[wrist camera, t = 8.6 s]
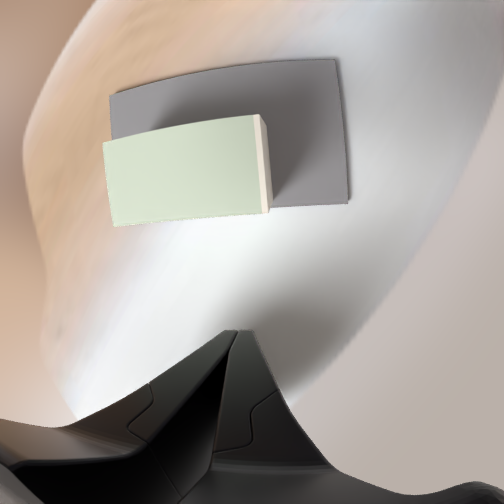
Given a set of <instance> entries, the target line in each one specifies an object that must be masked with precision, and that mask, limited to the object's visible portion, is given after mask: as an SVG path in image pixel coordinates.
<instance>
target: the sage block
mask: <svg viewBox="0 0 504 504" xmlns="http://www.w3.org/2000/svg"><path fill="white" fill-rule="evenodd" d="M103 154H104V164H105V173H106V181H107V189H108V196H109V203H110V209H111V215H112V221H113V227H118V226H127V225H136V224H145V223H155V222H165V221H176V220H187V219H198V218H210V217H223V216H236V215H250V214H265V213H268V212H269V210H270V207H271V204H272V202H273V192H272V180H271V169H270V157H269V146H268V136H267V125H266V124H265V122H264V121H263V119H262V118H261V116H260V115H259V114H256V115H246V116H238V117H230V118H222V119H215V120H208V121H202V122H196V123H190V124H184V125H178V126H173V127H168V128H163V129H158V130H153V131H149V132H144V133H140V134H136V135H131V136H127V137H123V138H119V139H116V140H112V141H108V142H104V143H103Z"/></svg>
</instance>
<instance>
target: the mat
mask: <svg viewBox="0 0 504 504" xmlns="http://www.w3.org/2000/svg"><path fill="white" fill-rule="evenodd" d="M109 101H110V120H111V135H112V140H116V139H119V138H123V137H127V136H131V135H136V134H140V133H144V132H149V131H153V130H158V129H163V128H168V127H173V126H178V125H184V124H190V123H196V122H202V121H208V120H215V119H222V118H230V117H238V116H246V115H256V114H259V115H260V116H261V118H262V119H263V121H264V122H265V124H266V125H267V136H268V146H269V157H270V169H271V180H272V192H273V202H272V204H271V207H270V208H275V207H292V206H310V205H331V204H348V187H347V169H346V154H345V141H344V130H343V120H342V110H341V102H340V94H339V86H338V79H337V72H336V65H335V60H297V61H280V62H268V63H258V64H249V65H241V66H234V67H227V68H220V69H214V70H208V71H203V72H198V73H193V74H188V75H183V76H178V77H174V78H170V79H166V80H162V81H158V82H154V83H150V84H146V85H143V86H139V87H136V88H132V89H129V90H126V91H122V92H119V93H116V94H113V95H110V96H109Z"/></svg>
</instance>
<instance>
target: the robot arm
mask: <svg viewBox="0 0 504 504" xmlns="http://www.w3.org/2000/svg"><path fill="white" fill-rule="evenodd" d="M0 504H504V491H503V490H501V489H499V488H498V487H495V486H492V485H489V484H486V483H483V482H476V481H473V482H468V483H463V484H460V485H457V486H454V487H451V488H448V489H445V490H442V491H439V492H435V493H430V494H424V495H404V494H399V493H395V492H392V491H389V490H386V489H383V488H380V487H377V486H375V485H372V484H370V483H367V482H364V481H362V480H359V479H357V478H354V477H352V476H349V475H347V474H344V473H342V472H340V471H339V470H337V469H336V468H335V467H334V466H332V465H331V464H330V463H329V462H328V461H327V459H326V458H325V457H324V456H323V455H322V453H321V452H320V451H319V449H318V448H317V447H316V446H315V444H314V443H313V442H312V440H311V439H310V438H309V437H308V435H307V434H306V433H305V431H304V430H303V429H302V427H301V426H300V425H299V423H298V422H297V420H296V419H295V417H294V416H293V414H292V413H291V411H290V409H289V407H288V406H287V404H286V402H285V400H284V398H283V396H282V394H281V392H280V390H279V387H278V385H277V383H276V381H275V379H274V377H273V374H272V372H271V370H270V368H269V366H268V363H267V361H266V359H265V357H264V354H263V352H262V350H261V348H260V346H259V343H258V341H257V339H256V337H255V334H254V332H253V331H252V330H240V331H239V332H238V331H237V330H224V331H223V332H221V333H220V334H219V335H217V336H216V337H214V338H213V339H212V340H210V341H209V342H207V343H206V344H204V345H203V346H202V347H200V348H199V349H197V350H196V351H194V352H193V353H191V354H190V355H189V356H187V357H186V358H184V359H183V360H181V361H180V362H178V363H177V364H175V365H174V366H172V367H171V368H170V369H168V370H167V371H165V372H164V373H162V374H161V375H159V376H158V377H156V378H155V379H153V380H152V381H150V382H149V384H148V383H147V384H145V385H144V386H142V387H141V388H139V389H138V390H136V391H134V392H133V393H131V394H129V395H128V396H126V397H125V398H123V399H121V400H119V401H117V402H115V403H113V404H112V405H110V406H108V407H106V408H104V409H102V410H100V411H98V412H96V413H94V414H92V415H90V416H87V417H85V418H83V419H81V420H79V421H77V422H75V423H73V424H70V425H67V426H64V427H57V428H48V427H41V426H35V425H29V424H24V423H18V422H14V421H9V420H4V419H0Z"/></svg>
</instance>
